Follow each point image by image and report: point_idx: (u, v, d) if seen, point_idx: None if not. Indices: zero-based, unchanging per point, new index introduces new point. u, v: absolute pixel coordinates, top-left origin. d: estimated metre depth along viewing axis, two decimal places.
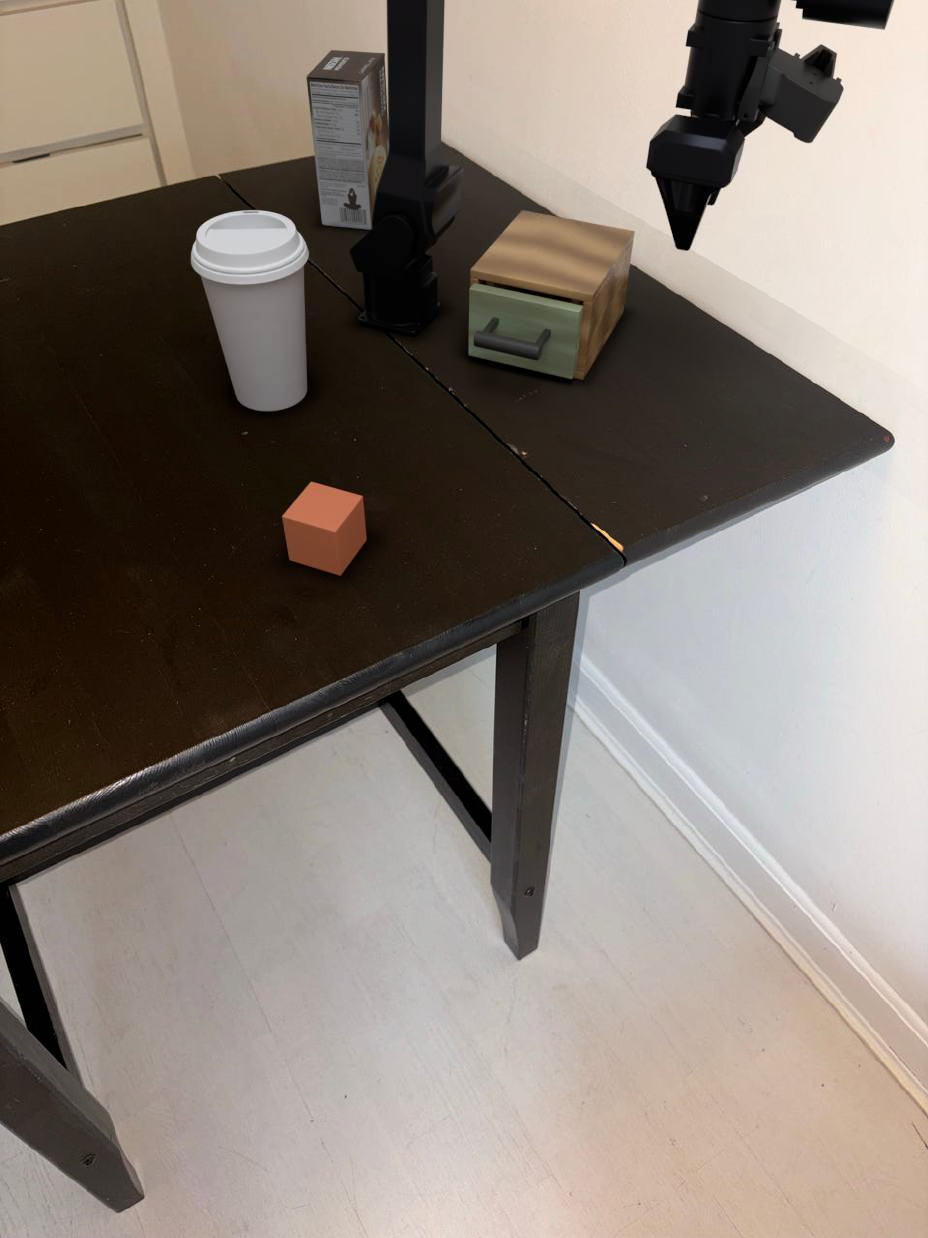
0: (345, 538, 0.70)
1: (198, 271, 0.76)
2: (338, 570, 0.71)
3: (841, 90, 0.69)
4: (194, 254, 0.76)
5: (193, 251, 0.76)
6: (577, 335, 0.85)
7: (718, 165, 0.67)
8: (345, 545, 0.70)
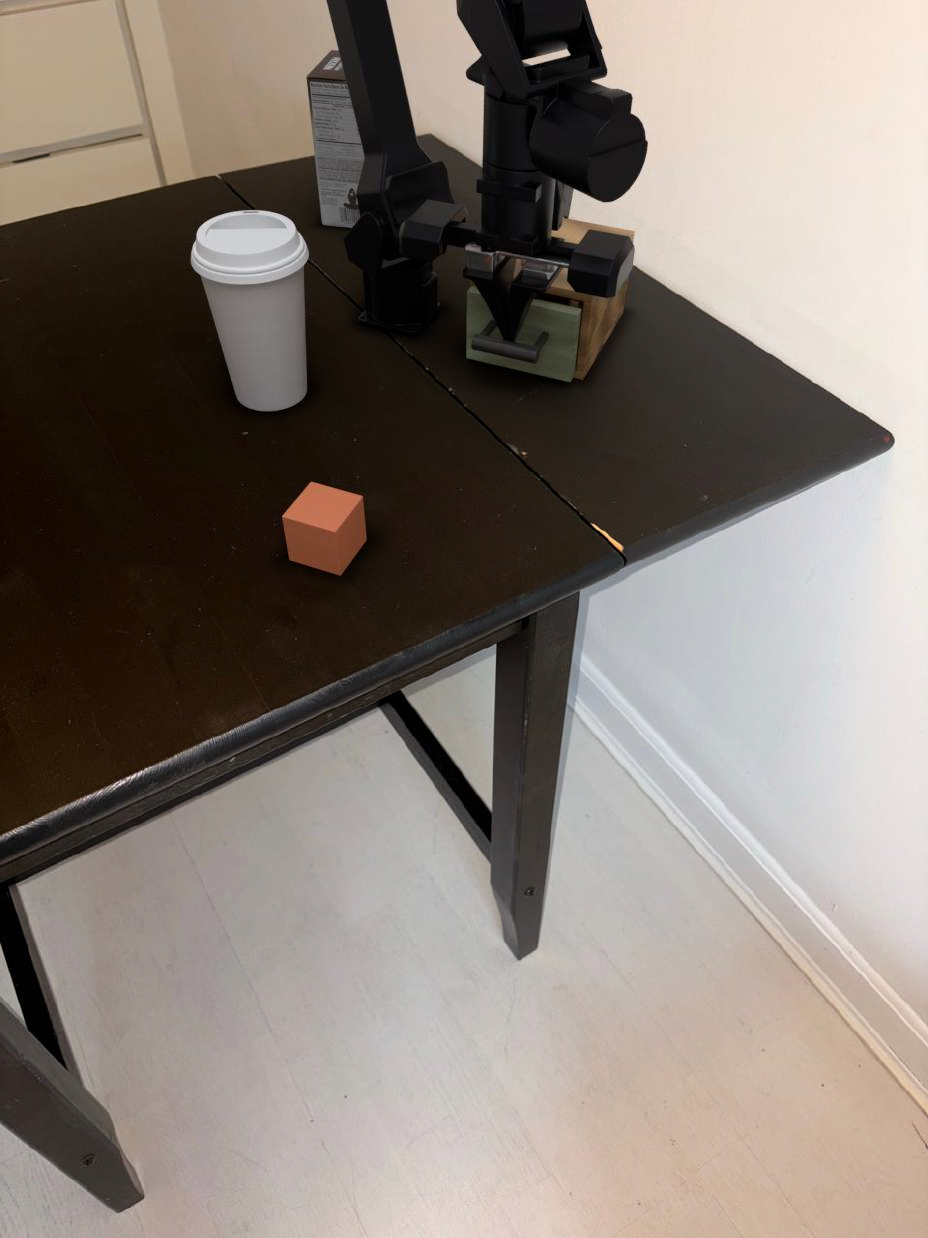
0: (345, 538, 0.70)
1: (198, 271, 0.76)
2: (338, 570, 0.71)
3: None
4: (194, 254, 0.76)
5: (193, 251, 0.76)
6: (575, 338, 0.84)
7: (633, 256, 0.77)
8: (345, 545, 0.70)
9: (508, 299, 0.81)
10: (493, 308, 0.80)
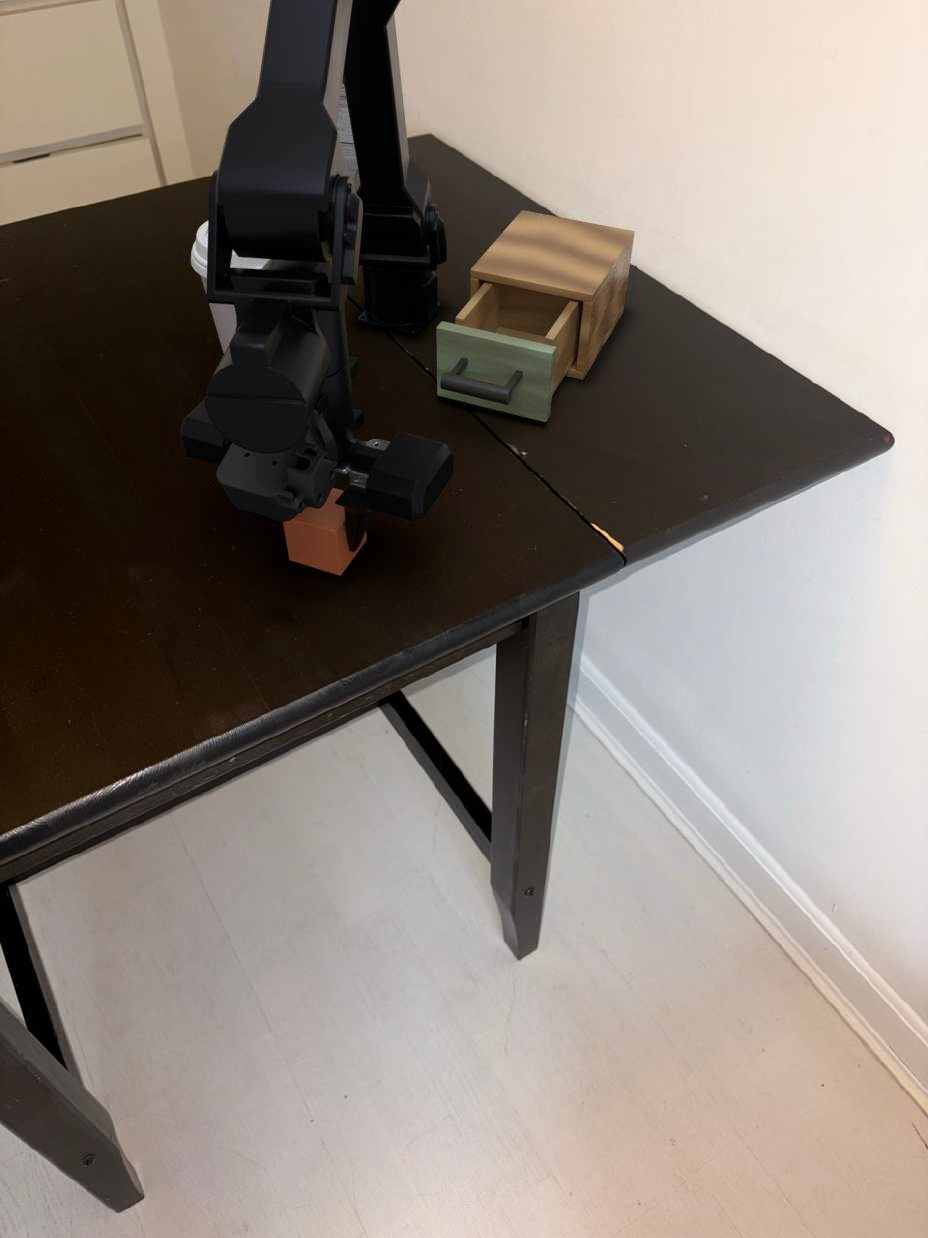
0: (345, 538, 0.70)
1: (198, 271, 0.76)
2: (338, 570, 0.71)
3: (257, 492, 0.58)
4: (194, 254, 0.76)
5: (193, 251, 0.76)
6: (550, 377, 0.80)
7: None
8: (345, 545, 0.70)
9: None
10: None
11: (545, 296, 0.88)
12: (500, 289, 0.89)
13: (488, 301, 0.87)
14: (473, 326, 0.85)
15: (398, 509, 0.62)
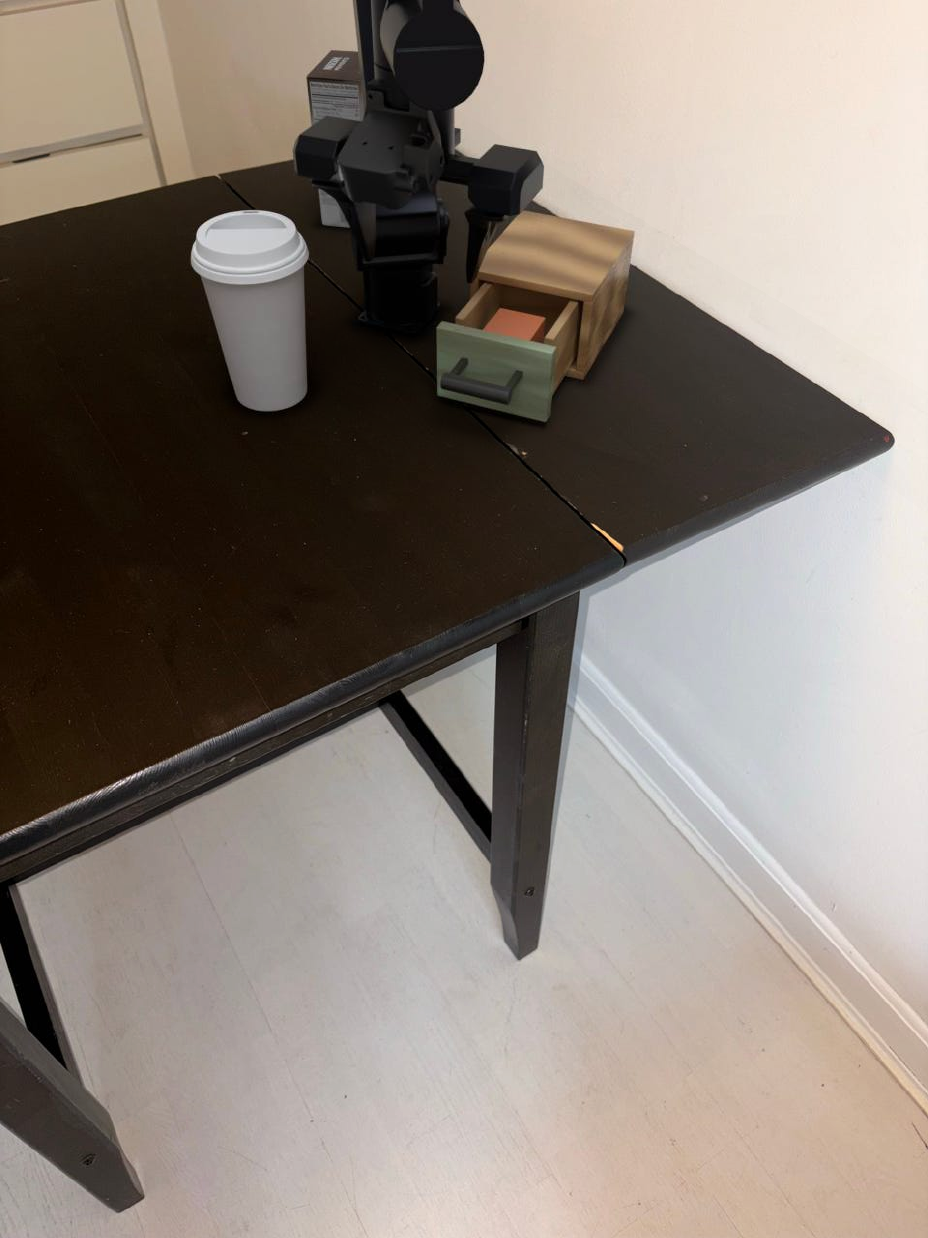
0: None
1: (198, 271, 0.76)
2: None
3: (377, 170, 0.65)
4: (194, 254, 0.76)
5: (193, 251, 0.76)
6: (550, 377, 0.80)
7: None
8: None
9: None
10: None
11: (545, 296, 0.88)
12: (500, 289, 0.89)
13: (488, 301, 0.87)
14: (473, 326, 0.85)
15: (497, 204, 0.69)
